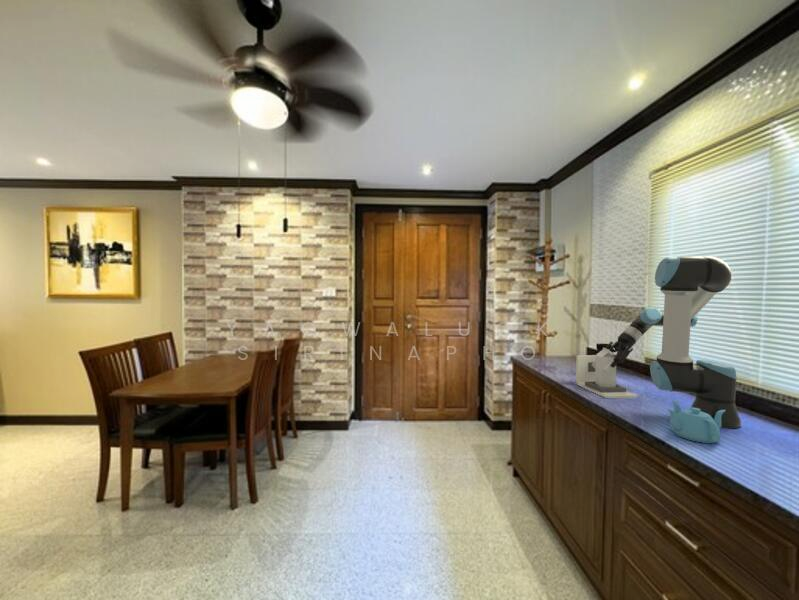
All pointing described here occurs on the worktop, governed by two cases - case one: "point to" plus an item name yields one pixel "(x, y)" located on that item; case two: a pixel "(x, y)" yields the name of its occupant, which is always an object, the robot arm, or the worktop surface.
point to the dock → (587, 379)
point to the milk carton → (600, 374)
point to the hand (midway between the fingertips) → (599, 368)
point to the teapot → (695, 424)
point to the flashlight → (600, 346)
